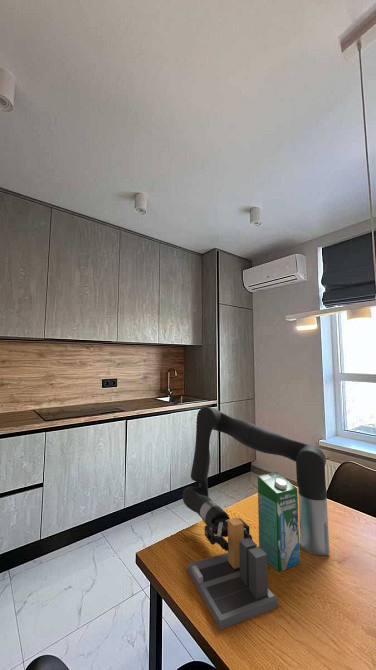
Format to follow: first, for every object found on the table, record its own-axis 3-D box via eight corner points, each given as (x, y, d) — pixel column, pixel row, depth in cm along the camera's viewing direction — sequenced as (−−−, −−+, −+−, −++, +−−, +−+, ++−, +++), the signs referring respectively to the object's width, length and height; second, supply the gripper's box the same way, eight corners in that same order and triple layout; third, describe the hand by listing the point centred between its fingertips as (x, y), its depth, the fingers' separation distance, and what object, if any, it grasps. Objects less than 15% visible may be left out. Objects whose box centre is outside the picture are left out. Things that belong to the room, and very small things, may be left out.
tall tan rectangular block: (237, 558, 86) (237, 517, 88) (244, 565, 83) (243, 523, 84) (228, 561, 85) (227, 519, 86) (234, 568, 82) (233, 525, 83)
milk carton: (279, 572, 84) (276, 485, 87) (258, 554, 92) (257, 475, 95) (300, 563, 88) (297, 480, 91) (279, 546, 96) (277, 471, 99)
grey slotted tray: (235, 556, 90) (235, 517, 92) (277, 607, 72) (276, 557, 73) (187, 570, 84) (187, 528, 85) (220, 630, 65) (220, 574, 67)
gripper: (195, 509, 96) (218, 536, 81) (231, 502, 101) (258, 526, 86) (195, 532, 95) (218, 564, 80) (231, 524, 100) (259, 552, 85)
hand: (239, 544), depth 83 cm, fingers open, 8 cm apart
